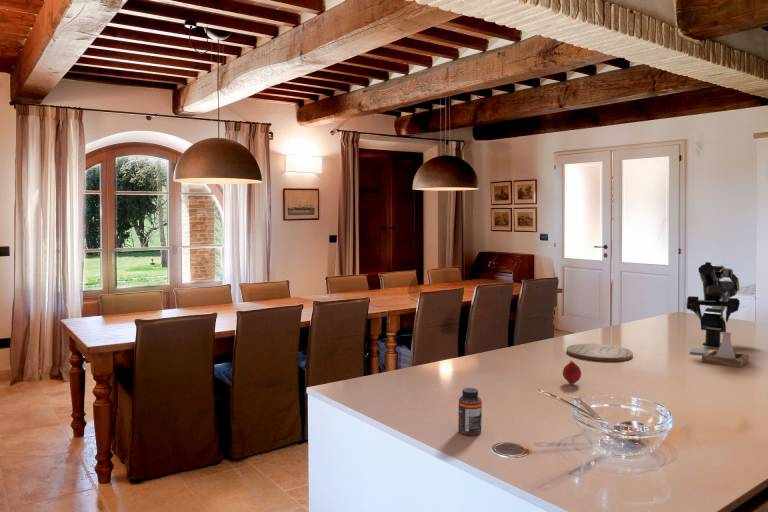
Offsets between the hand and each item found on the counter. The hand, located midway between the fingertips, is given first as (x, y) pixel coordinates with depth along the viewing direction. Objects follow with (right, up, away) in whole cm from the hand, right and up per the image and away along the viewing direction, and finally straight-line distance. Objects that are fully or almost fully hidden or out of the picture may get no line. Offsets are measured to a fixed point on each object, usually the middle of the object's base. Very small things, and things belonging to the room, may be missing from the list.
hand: (714, 320), depth 250 cm
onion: (-69, -17, -42) cm, 83 cm away
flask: (-1, -14, -11) cm, 17 cm away
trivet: (-45, -14, +1) cm, 48 cm away
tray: (-1, -14, -10) cm, 18 cm away
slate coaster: (-2, -13, +4) cm, 14 cm away
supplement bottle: (-109, -20, -86) cm, 141 cm away
